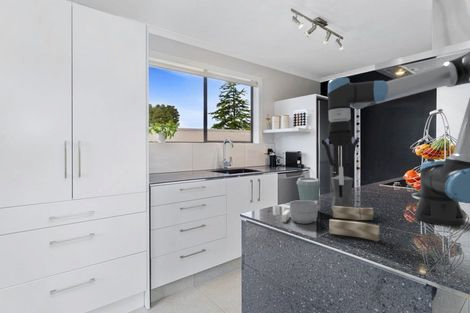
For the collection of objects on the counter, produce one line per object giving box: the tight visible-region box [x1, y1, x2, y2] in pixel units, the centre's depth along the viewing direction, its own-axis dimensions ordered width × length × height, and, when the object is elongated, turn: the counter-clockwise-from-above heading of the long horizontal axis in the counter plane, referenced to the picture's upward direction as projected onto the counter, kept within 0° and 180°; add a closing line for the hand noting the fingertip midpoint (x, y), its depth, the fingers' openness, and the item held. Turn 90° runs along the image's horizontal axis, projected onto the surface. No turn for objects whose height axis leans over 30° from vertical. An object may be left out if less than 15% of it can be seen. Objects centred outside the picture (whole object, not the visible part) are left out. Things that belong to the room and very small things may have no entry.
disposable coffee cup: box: [296, 176, 321, 201], centre depth 116 cm, size 11×11×15 cm
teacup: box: [289, 199, 321, 225], centre depth 100 cm, size 14×11×8 cm
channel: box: [328, 206, 380, 242], centre depth 93 cm, size 15×26×4 cm, turn 155°
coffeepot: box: [330, 175, 354, 212], centre depth 114 cm, size 15×9×18 cm, turn 153°
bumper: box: [281, 209, 291, 223], centre depth 103 cm, size 2×8×3 cm, turn 155°
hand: (341, 184), depth 94 cm, fingers closed
